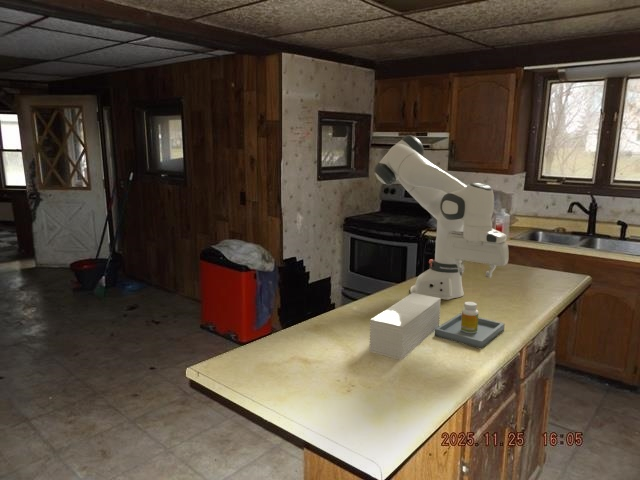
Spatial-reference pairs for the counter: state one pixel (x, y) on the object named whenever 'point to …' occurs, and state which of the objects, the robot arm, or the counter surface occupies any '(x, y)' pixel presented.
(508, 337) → the counter surface
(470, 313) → the supplement bottle
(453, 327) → the slate tray
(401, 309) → the light grey rectangular block
